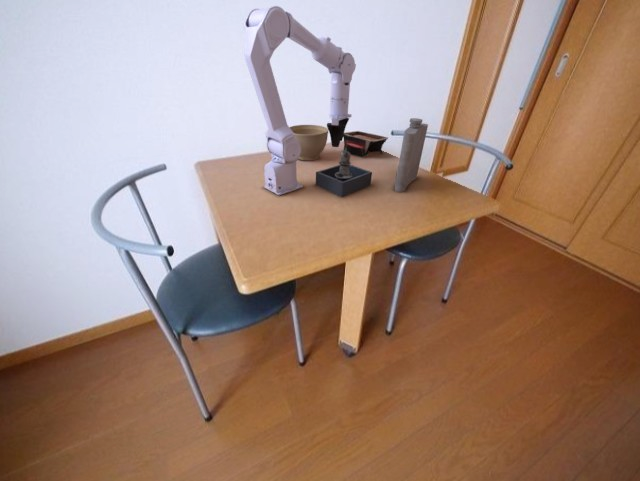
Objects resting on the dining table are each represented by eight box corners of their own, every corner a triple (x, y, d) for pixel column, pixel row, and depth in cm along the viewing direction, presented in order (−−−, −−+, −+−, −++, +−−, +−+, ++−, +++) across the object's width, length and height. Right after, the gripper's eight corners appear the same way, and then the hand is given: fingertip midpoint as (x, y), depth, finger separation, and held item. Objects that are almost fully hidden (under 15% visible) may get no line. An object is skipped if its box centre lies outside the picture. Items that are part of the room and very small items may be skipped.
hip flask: (402, 192, 89) (415, 124, 77) (390, 189, 90) (401, 122, 79) (417, 177, 100) (431, 115, 89) (406, 174, 102) (418, 114, 90)
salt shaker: (352, 182, 95) (355, 145, 88) (352, 189, 90) (355, 151, 83) (334, 181, 95) (336, 144, 88) (333, 188, 90) (335, 150, 84)
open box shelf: (342, 197, 85) (343, 183, 83) (315, 185, 92) (315, 171, 89) (370, 185, 93) (372, 172, 90) (344, 175, 100) (345, 162, 97)
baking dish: (361, 149, 132) (359, 126, 127) (392, 153, 120) (392, 128, 115) (338, 158, 125) (335, 134, 120) (369, 162, 112) (367, 136, 108)
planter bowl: (305, 148, 125) (305, 122, 119) (335, 156, 117) (336, 129, 110) (279, 157, 114) (277, 129, 108) (309, 166, 106) (309, 136, 100)
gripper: (349, 103, 82) (346, 150, 89) (355, 96, 94) (351, 138, 101) (325, 101, 83) (324, 148, 90) (333, 95, 95) (331, 137, 102)
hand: (337, 143), depth 96 cm, fingers open, 7 cm apart
